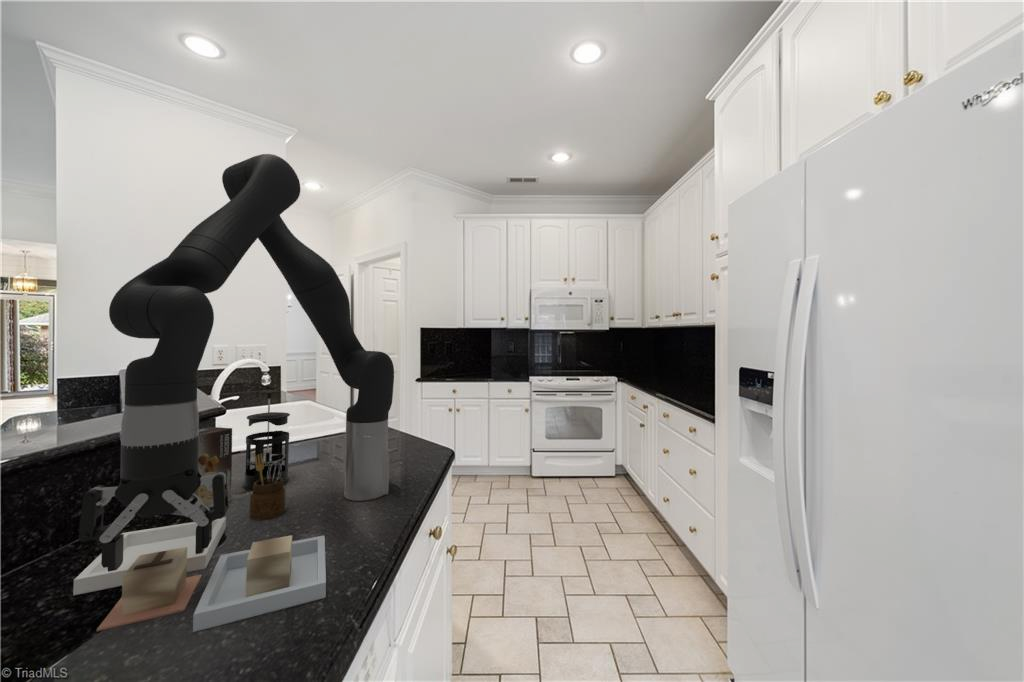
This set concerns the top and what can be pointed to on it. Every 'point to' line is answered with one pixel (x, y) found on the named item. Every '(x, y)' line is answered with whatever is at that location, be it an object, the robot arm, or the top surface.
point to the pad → (180, 605)
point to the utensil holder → (267, 495)
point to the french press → (276, 442)
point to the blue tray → (231, 604)
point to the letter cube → (154, 581)
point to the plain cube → (269, 565)
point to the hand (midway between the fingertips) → (159, 559)
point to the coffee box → (213, 459)
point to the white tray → (146, 544)
